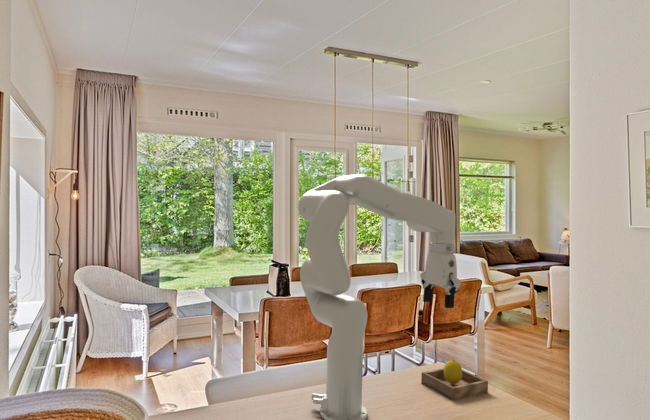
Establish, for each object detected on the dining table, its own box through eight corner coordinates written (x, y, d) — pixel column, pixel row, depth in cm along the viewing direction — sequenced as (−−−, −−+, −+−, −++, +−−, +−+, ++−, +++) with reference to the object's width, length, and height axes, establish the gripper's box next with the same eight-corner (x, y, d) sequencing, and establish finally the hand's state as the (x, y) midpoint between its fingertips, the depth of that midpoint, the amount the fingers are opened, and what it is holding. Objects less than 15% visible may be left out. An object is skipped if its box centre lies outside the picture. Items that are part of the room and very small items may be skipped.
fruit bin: (452, 400, 129) (453, 388, 129) (421, 383, 141) (421, 372, 141) (487, 392, 136) (487, 381, 136) (454, 376, 148) (454, 366, 148)
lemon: (462, 389, 135) (462, 362, 135) (443, 387, 137) (444, 361, 137) (461, 383, 141) (461, 357, 141) (443, 381, 142) (443, 355, 142)
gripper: (470, 252, 132) (467, 310, 132) (432, 247, 148) (429, 299, 147) (451, 251, 129) (448, 310, 128) (413, 246, 144) (410, 299, 144)
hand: (438, 304), depth 138 cm, fingers open, 9 cm apart
